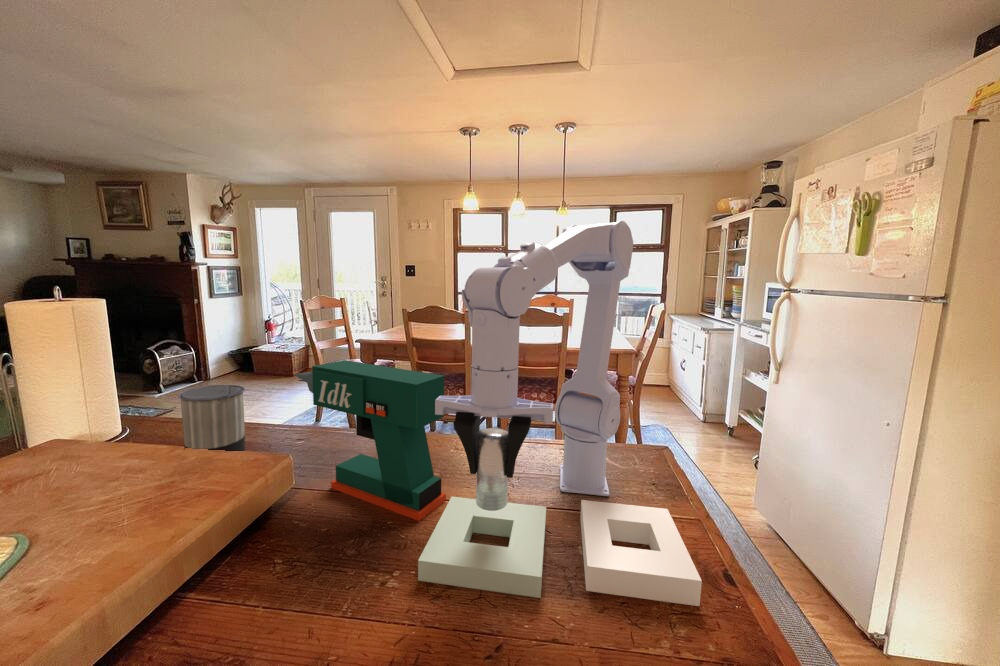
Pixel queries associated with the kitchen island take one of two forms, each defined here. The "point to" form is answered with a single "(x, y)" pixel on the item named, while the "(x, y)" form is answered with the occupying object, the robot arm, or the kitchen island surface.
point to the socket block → (486, 548)
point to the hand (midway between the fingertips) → (492, 472)
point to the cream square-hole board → (636, 554)
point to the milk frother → (213, 417)
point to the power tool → (384, 432)
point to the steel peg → (492, 469)
